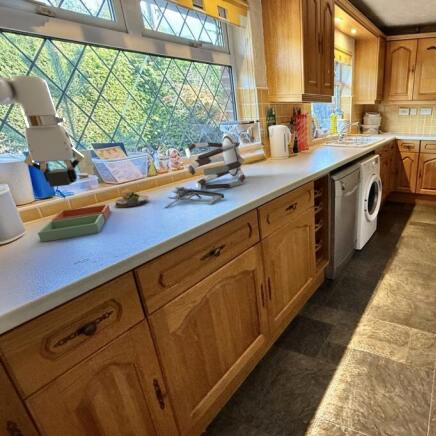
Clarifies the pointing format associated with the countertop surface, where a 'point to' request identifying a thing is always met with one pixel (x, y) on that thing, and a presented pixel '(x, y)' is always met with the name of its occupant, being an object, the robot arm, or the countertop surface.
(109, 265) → the countertop surface
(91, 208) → the far bin
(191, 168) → the jointed toy figure
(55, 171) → the packet
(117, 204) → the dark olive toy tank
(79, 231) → the near bin
